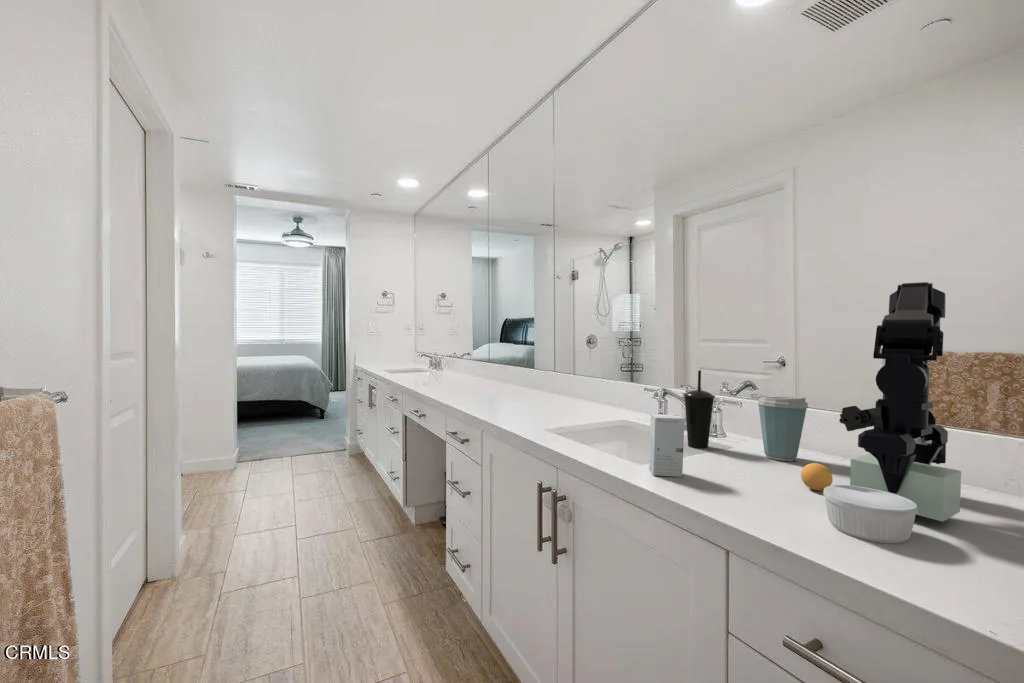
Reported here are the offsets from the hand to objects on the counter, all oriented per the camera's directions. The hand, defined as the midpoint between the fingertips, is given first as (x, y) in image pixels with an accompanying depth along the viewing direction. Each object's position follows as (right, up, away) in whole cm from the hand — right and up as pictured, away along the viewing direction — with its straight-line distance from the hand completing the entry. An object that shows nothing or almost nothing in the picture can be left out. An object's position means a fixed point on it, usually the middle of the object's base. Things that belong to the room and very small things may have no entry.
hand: (902, 488), depth 75 cm
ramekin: (-11, -4, -7) cm, 14 cm away
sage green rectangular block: (0, -3, 0) cm, 2 cm away
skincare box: (-32, -4, +20) cm, 38 cm away
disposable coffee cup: (0, -4, +34) cm, 34 cm away
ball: (-7, -1, +11) cm, 13 cm away
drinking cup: (-16, -4, +44) cm, 47 cm away
